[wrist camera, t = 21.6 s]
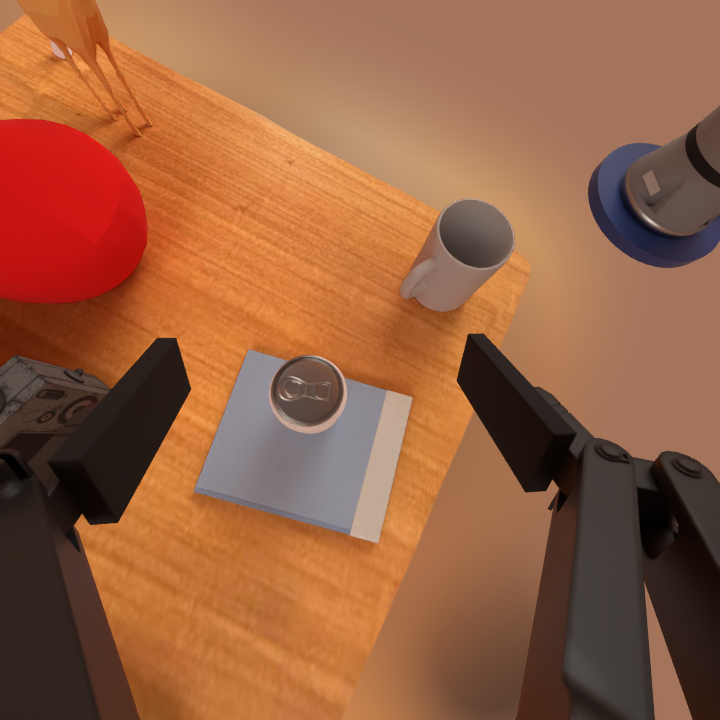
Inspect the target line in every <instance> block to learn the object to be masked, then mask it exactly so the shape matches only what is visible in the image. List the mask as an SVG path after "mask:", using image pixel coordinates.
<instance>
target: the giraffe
mask: <svg viewBox="0 0 720 720" xmlns="http://www.w3.org/2000/svg"><path fill="white" fill-rule="evenodd" d="M17 1H18V3H19V5H20V6H21V8H22V9H23V10H24V11H25V12H26V13H27V15H28V16H29V17H30V18H31V20H32V21H33V22H34V23H35V25H36V26H37V27H38V28H39V30H40V31H41V32H42V33H43V34H44V35H45V36H46V37H47V38H49V39H50V40H51V41H52V42H54V43H55V44H56V45H57V47H58V48H59V49H60V50H61V51H62V52H63V54H64V56H65V59H66V60H67V62H68V63H69V64H70V66H71V67H72V68H73V69H74V70H75V72H76V73H77V74H78V75H79V76H80V78H81V79H82V80H83V81H84V82H85V84H86V85H87V86H88V88H89V89H90V90H91V91H92V93H93V94H94V95H95V97H96V98H97V99H98V101H99V102H100V103H101V105H102V106H103V108H104V109H105V110H106V111H107V112H108V113H109V114H111V117H112V118H113V119H114V120H118V119H117V117H116V116H115V115H114V114H113V113H112V112H111V111H110V110H109V108H108V107H107V106H106V105H105V104H104V103H103V101H102V100H101V99H100V98H99V96H98V95H97V94H96V93H95V91H94V90H93V89H92V88H91V86H90V85H89V84H88V82H87V81H86V80H85V78H84V77H83V75H82V74H81V72H80V71H79V69H78V68H77V66H76V64H75V63H74V61H73V59H72V57H71V55H70V53H69V50H68V48H69V49H71V50H72V51H74V52H76V53H77V54H79V55H80V57H81V58H82V59H83V60H84V61H85V62H86V64H87V65H88V66H89V67H90V68H91V70H92V71H93V72H94V73H95V74H96V76H97V77H98V78H99V80H100V81H101V82H102V84H103V85H104V87H105V89H106V90H107V91H108V93H109V94H110V95H111V97H112V99H113V100H114V102H115V103H116V105H117V106H118V108H119V110H120V111H121V113H122V114H123V116H124V117H125V119H126V121H127V123H128V124H129V126H130V127H131V128H132V130H133V132H134V133H135V134H136V136H140V137H141V136H142V134H141V133H140V131H139V130H138V129H136V128H135V126H134V125H133V123H132V122H131V121H130V119H129V118H128V116H127V114H126V113H125V111H126V112H128V110H127V109H126V108H125V106H123V105H122V103H121V102H120V101H119V99H118V98H117V97H116V96H115V95H114V94H113V91H112V89H111V86H110V85H109V83H108V81H107V80H106V78H105V76H104V74H103V72H102V71H101V69H100V67H99V65H98V63H97V61H96V43H97V44H98V45H99V46H100V47H101V48H102V49H103V50H104V52H105V53H106V55H107V57H108V58H109V60H110V62H111V64H112V65H113V67H114V69H115V71H116V73H117V75H118V77H119V78H120V80H121V81H122V82H123V83H124V85H125V87H126V89H127V91H128V92H129V94H130V96H131V98H132V100H133V101H134V103H135V105H136V107H137V109H138V110H139V112H140V114H141V115H142V117H143V118H144V120H145V122H146V124H147V125H148V126H153V124H152V122H151V121H150V120H149V119H148V118H147V116H146V114H145V113H144V111H143V110H142V108H141V107H140V105H139V103H138V102H137V100H136V98H135V96H134V95H133V93H132V91H131V89H130V88H129V86H128V84H127V82H126V79H125V77H124V75H123V73H122V72H121V70H120V68H119V66H118V64H117V62H116V60H115V58H114V56H113V54H112V52H111V50H110V44H109V37H108V30H107V28H106V26H105V23H104V21H103V18H102V16H101V13H100V11H99V8H98V6H97V4H96V1H95V0H17ZM67 47H68V48H67Z"/></svg>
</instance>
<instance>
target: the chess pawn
mask: <svg viewBox="0 0 720 720" xmlns="http://www.w3.org/2000/svg"><path fill="white" fill-rule="evenodd" d="M51 48H52V50H53V53H54V54H55V55H56V56H58V57H59V58H62V59H65V56H64V54H63V52H62V51H61V50H60V49H59V48H58V47H57V45H56V44H55V43H54V42H52V41H51ZM67 48H68V47H67ZM68 50H69V53H70V55H71V56H72V51H71V50H70V49H69V48H68Z"/></svg>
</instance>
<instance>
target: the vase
mask: <svg viewBox="0 0 720 720" xmlns="http://www.w3.org/2000/svg"><path fill="white" fill-rule="evenodd" d="M147 229H148V227H147V221H146V214H145V208H144V204H143V201H142V197H141V194H140V190H139V189H138V187H137V186H136V184H135V183H134V181H133V180H132V178H131V177H130V175H129V174H128V172H127V171H126V169H125V168H124V167H123V165H122V164H121V162H120V161H119V160H118V158H117V157H116V156H114V155H113V154H112V153H111V152H110V151H108V150H107V149H106V148H105V147H104V146H102V145H101V144H100V143H98V142H97V141H95V140H94V139H93V138H91V137H90V136H88V135H87V134H85V133H82V132H80V131H78V130H76V129H74V128H72V127H70V126H67V125H64V124H60V123H55V122H51V121H46V120H36V119H10V120H0V298H3V299H8V300H13V301H19V302H24V303H52V304H54V303H75V302H79V301H82V300H86V299H90V298H94V297H97V296H99V295H101V294H103V293H105V292H107V291H109V290H111V289H113V288H115V287H117V286H118V285H119V284H120V283H122V282H123V281H124V280H125V279H126V278H128V277H129V276H130V274H131V273H132V272H133V270H134V269H135V268H136V266H137V265H138V263H139V262H140V260H141V258H142V255H143V252H144V250H145V247H146V244H147Z"/></svg>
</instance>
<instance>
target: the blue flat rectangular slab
mask: <svg viewBox="0 0 720 720" xmlns="http://www.w3.org/2000/svg"><path fill="white" fill-rule="evenodd" d="M286 362H287V360H283V359H280V358H277V357H273V356H270V355H267V354H263V353H260V352H257V351H253V350H250V349H249V350H248V352H247V354H246V357H245V360H244V362H243V365H242V367H241V370H240V373H239V375H238V378H237V380H236V383H235V386H234V388H233V391H232V393H231V396H230V399H229V401H228V404H227V406H226V409H225V411H224V414H223V417H222V419H221V422H220V424H219V427H218V430H217V432H216V435H215V437H214V440H213V443H212V445H211V448H210V450H209V453H208V456H207V458H206V461H205V463H204V466H203V469H202V471H201V474H200V476H199V479H198V481H197V484H196V487H195V489H194V492H196V493H200V494H204V495H207V496H211V497H214V498H218V499H222V500H225V501H229V502H233V503H236V504H240V505H243V506H247V507H251V508H254V509H258V510H261V511H265V512H269V513H272V514H276V515H280V516H283V517H287V518H290V519H294V520H298V521H301V522H305V523H308V524H312V525H316V526H319V527H323V528H327V529H330V530H334V531H337V532H341V533H345V534H348V535H350V536H352V537H356V538H360V539H363V540H367V541H371V542H374V543H379V539H380V534H381V530H382V526H383V522H384V517H385V513H386V509H387V505H388V501H389V496H390V492H391V488H392V484H393V479H394V475H395V471H396V467H397V463H398V458H399V454H400V450H401V446H402V441H403V437H404V433H405V429H406V425H407V420H408V416H409V412H410V408H411V403H412V399H413V397H410V396H407V395H403V394H400V393H397V392H393V391H390V390H384V389H381V388H378V387H374V386H371V385H368V384H364V383H361V382H357V381H354V380H351V379H347V378H344V379H345V382H346V385H347V401H346V405H345V408H344V410H343V412H342V414H341V415H340V417H339V418H338V419H337V421H336V422H335V423H334V424H333V425H332V426H331V427H330V428H328V429H327V430H325V431H322V432H320V433H314V434H308V433H301V432H297V431H294V430H292V429H290V428H288V427H286V426H285V425H284V424H282V423H281V422H280V421H279V420H278V419H277V417H276V416H275V414H274V413H273V411H272V408H271V405H270V401H269V388H270V384H271V381H272V378H273V376H274V375H275V373H276V372H277V370H278V369H279V368H280V367H281V366H282V365H283V364H284V363H286Z"/></svg>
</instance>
